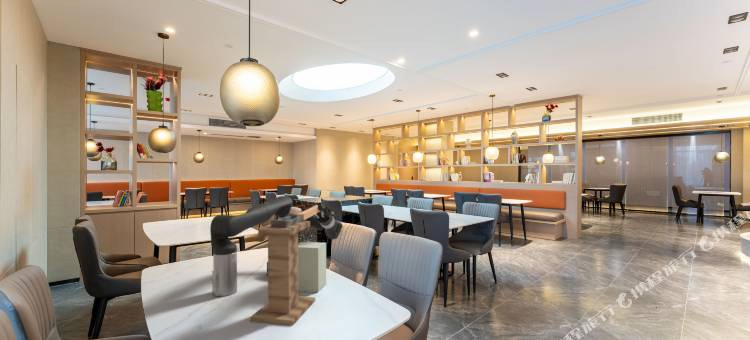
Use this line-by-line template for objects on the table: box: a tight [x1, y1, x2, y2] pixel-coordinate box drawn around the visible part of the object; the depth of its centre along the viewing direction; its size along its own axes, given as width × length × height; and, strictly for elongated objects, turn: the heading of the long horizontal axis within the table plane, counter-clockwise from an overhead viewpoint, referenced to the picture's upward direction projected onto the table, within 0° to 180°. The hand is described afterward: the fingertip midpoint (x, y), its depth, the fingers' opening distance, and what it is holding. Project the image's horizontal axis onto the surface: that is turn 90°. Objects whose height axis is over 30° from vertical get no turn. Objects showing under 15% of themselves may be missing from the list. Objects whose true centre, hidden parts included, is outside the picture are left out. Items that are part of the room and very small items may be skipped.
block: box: [296, 204, 320, 220], centre depth 144 cm, size 22×3×2 cm, turn 170°
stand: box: [249, 216, 316, 326], centre depth 120 cm, size 20×16×34 cm
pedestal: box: [298, 241, 327, 293], centre depth 143 cm, size 10×12×19 cm
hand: (315, 205), depth 149 cm, fingers closed on block, 3 cm apart
